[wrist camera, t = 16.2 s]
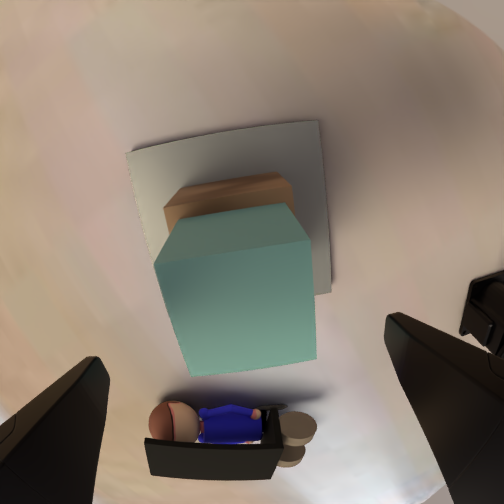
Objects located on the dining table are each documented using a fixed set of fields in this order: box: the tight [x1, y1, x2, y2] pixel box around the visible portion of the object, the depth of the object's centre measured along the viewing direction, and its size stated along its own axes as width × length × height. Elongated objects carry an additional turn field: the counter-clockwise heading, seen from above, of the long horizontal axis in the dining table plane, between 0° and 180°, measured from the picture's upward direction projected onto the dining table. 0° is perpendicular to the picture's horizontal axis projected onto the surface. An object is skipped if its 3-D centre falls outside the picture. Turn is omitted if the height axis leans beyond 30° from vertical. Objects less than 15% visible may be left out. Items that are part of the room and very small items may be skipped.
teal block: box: [153, 202, 317, 377], centre depth 13 cm, size 5×5×5 cm
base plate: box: [126, 120, 332, 315], centre depth 20 cm, size 12×12×1 cm
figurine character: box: [144, 401, 317, 480], centre depth 25 cm, size 7×8×15 cm
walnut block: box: [163, 172, 295, 235], centre depth 17 cm, size 6×6×5 cm
